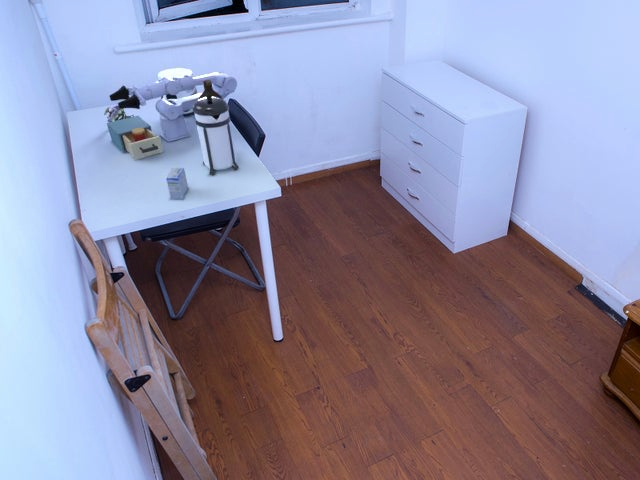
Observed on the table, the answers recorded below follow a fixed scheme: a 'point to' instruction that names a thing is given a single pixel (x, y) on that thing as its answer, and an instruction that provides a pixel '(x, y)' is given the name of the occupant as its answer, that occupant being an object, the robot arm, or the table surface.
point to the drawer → (142, 145)
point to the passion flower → (116, 114)
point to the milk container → (176, 73)
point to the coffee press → (215, 133)
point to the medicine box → (177, 183)
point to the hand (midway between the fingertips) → (114, 102)
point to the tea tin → (139, 134)
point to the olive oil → (209, 90)
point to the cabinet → (125, 129)
